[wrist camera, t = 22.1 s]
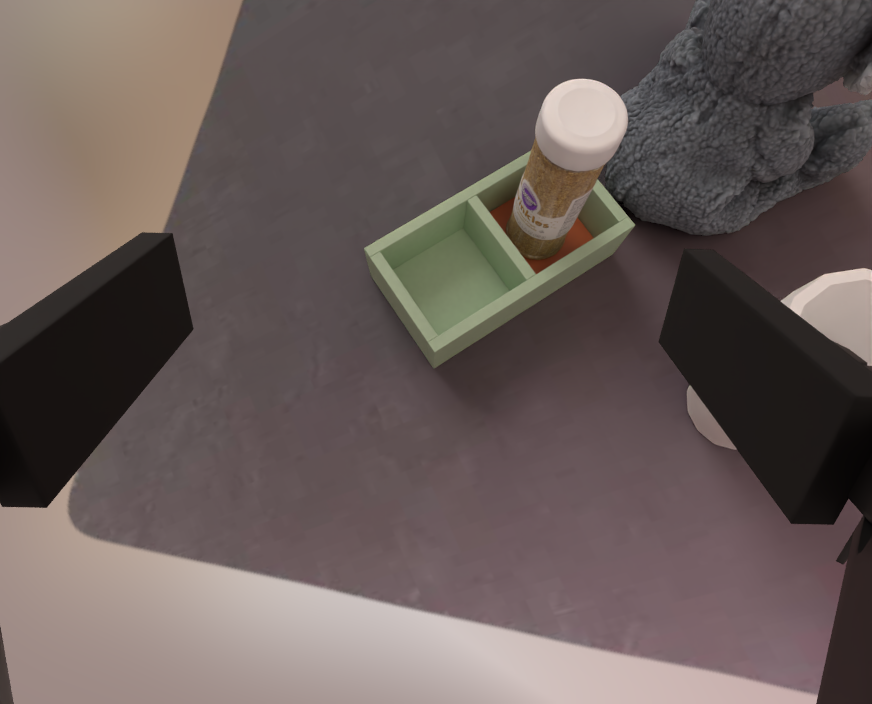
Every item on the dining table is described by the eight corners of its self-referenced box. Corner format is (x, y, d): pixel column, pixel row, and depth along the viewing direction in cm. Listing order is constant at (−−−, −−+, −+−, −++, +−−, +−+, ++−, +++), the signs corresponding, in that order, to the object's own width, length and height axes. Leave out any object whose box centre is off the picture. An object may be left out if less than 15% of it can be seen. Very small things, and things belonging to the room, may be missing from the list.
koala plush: (848, 171, 43) (1171, -78, 25) (689, 299, 40) (919, 127, 22) (695, 30, 47) (877, -284, 28) (538, 139, 44) (623, -132, 25)
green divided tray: (370, 275, 40) (363, 248, 36) (546, 170, 43) (560, 133, 39) (433, 369, 39) (434, 352, 34) (613, 254, 41) (635, 225, 37)
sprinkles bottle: (492, 233, 41) (523, 110, 28) (533, 196, 42) (582, 59, 29) (537, 274, 40) (590, 166, 27) (578, 235, 41) (649, 113, 28)
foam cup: (803, 477, 37) (995, 466, 25) (669, 469, 37) (793, 454, 25) (788, 344, 40) (955, 273, 27) (662, 336, 40) (771, 262, 27)
